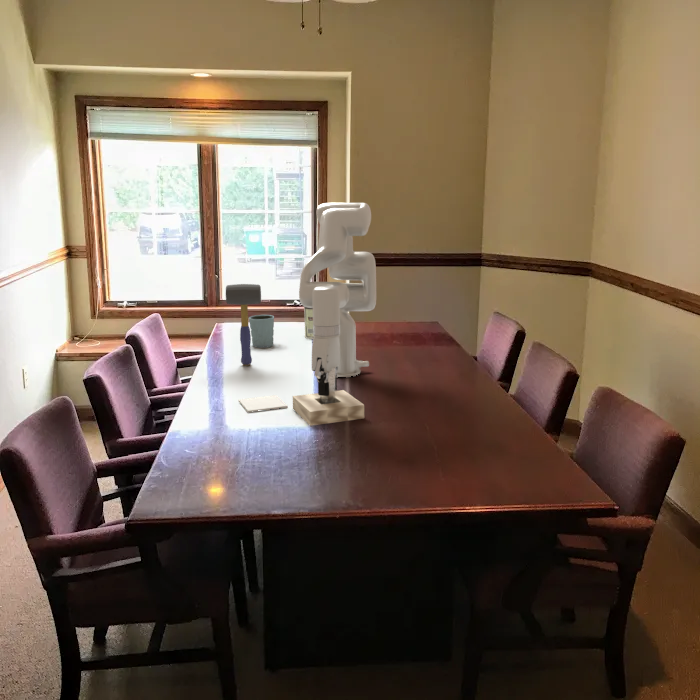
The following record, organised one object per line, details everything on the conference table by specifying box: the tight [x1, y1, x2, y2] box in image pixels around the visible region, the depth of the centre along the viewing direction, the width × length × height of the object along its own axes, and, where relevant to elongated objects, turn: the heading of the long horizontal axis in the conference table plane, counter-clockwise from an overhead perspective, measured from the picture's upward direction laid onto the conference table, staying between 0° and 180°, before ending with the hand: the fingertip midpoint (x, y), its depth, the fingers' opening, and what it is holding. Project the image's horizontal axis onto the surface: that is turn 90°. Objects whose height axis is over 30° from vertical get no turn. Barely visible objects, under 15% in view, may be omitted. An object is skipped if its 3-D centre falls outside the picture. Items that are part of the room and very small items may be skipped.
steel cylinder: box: [320, 367, 336, 404], centre depth 202 cm, size 4×4×12 cm
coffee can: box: [303, 306, 314, 340], centre depth 305 cm, size 10×10×14 cm
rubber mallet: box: [225, 283, 262, 367], centre depth 256 cm, size 12×8×30 cm, turn 93°
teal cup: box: [248, 314, 275, 349], centre depth 290 cm, size 10×10×12 cm
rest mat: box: [238, 394, 288, 413], centre depth 212 cm, size 12×12×1 cm
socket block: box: [292, 389, 365, 427], centre depth 203 cm, size 16×16×4 cm
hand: (327, 392), depth 202 cm, fingers closed on steel cylinder, 4 cm apart
